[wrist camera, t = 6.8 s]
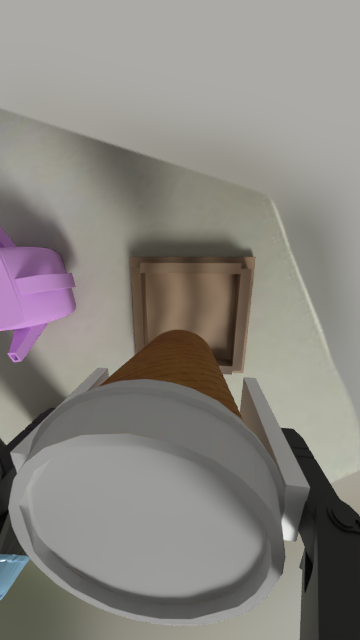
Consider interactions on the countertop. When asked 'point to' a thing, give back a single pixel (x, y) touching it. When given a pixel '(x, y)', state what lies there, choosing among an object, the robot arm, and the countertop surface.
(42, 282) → the teakettle
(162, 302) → the cup caddy
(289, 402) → the countertop surface
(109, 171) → the countertop surface
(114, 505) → the disposable coffee cup
